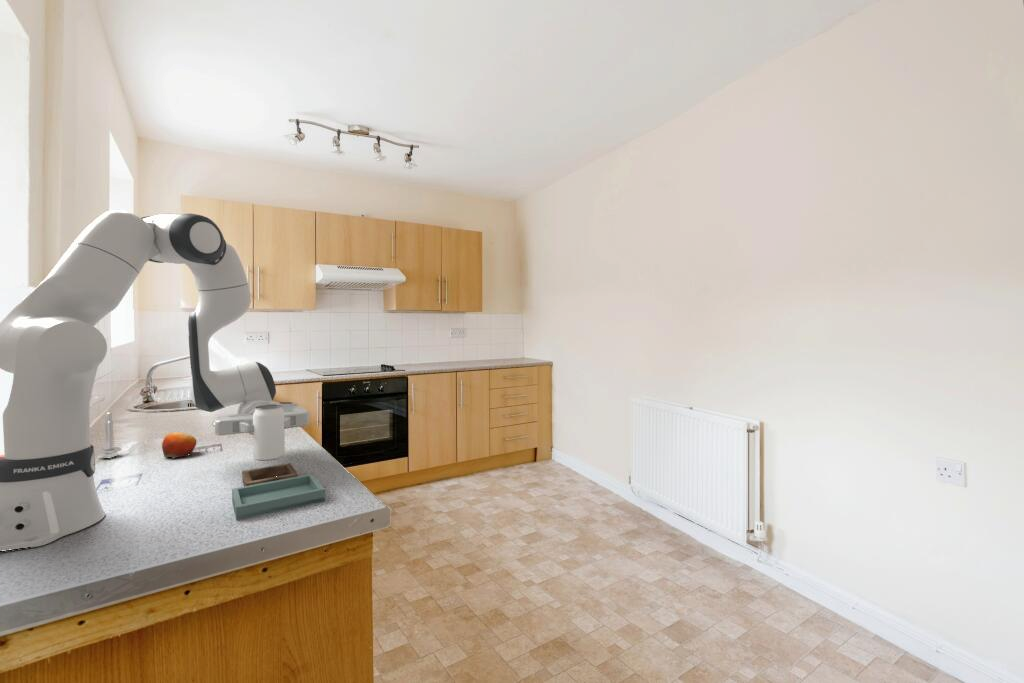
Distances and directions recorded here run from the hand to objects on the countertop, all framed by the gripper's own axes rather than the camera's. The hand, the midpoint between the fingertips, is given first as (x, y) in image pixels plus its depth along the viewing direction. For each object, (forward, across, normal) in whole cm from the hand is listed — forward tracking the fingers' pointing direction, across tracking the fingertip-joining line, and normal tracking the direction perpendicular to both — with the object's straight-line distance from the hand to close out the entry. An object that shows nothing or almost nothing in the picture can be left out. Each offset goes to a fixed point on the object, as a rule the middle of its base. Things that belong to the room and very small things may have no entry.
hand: (267, 427), depth 104 cm
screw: (-51, -34, +14) cm, 63 cm away
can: (-1, 0, +8) cm, 8 cm away
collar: (-1, 0, +14) cm, 14 cm away
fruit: (-41, -18, +14) cm, 47 cm away
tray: (+12, 0, +14) cm, 18 cm away
